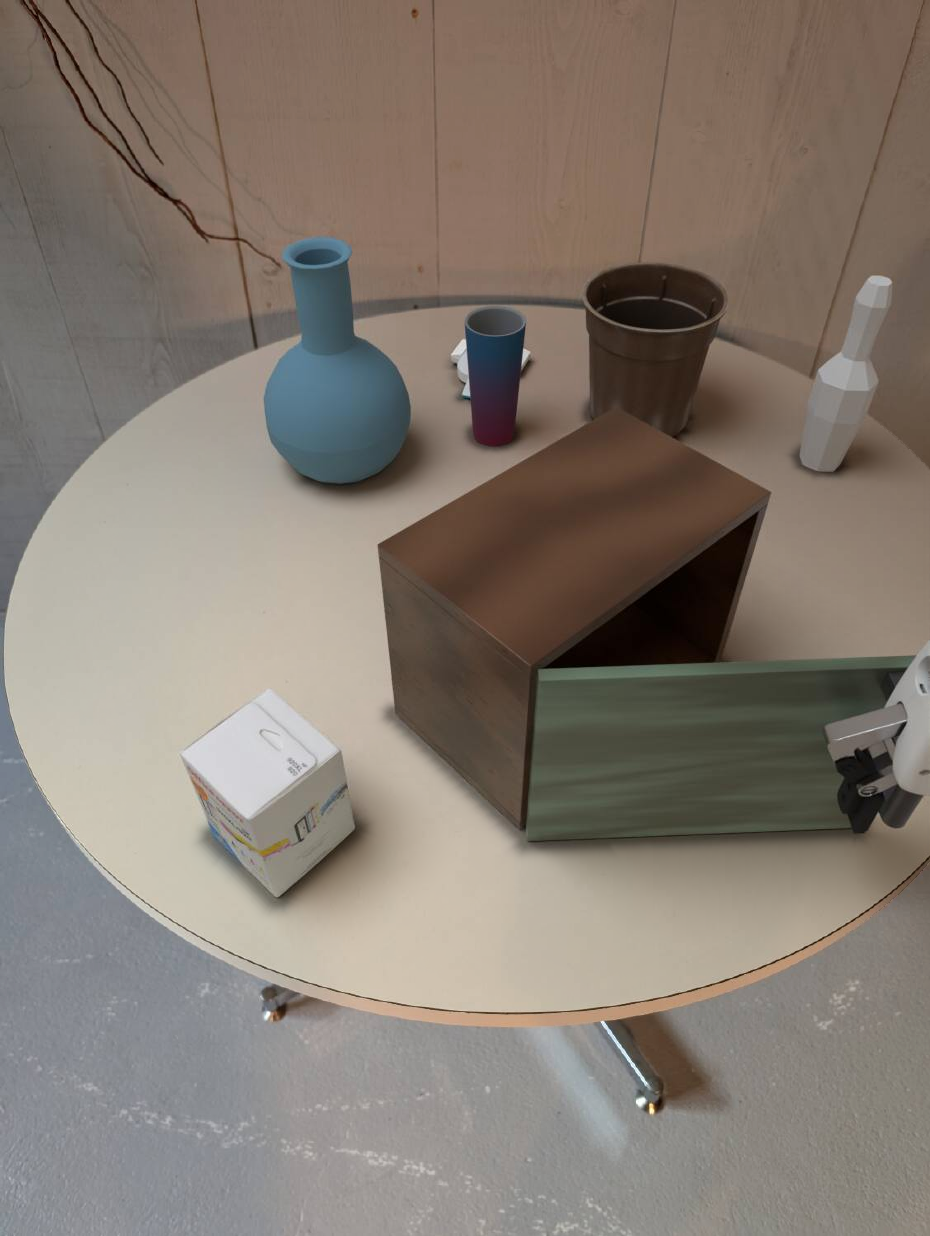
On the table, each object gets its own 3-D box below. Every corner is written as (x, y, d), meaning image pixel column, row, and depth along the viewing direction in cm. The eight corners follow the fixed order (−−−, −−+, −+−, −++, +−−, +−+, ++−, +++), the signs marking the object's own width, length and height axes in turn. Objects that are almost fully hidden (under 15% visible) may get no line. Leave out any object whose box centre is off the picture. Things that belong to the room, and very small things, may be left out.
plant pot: (553, 437, 110) (562, 313, 99) (592, 370, 120) (605, 251, 109) (685, 467, 106) (711, 342, 94) (715, 395, 116) (741, 274, 104)
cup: (461, 447, 109) (459, 333, 98) (470, 415, 114) (469, 303, 103) (517, 453, 108) (522, 338, 97) (524, 420, 113) (529, 307, 102)
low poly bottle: (844, 481, 104) (911, 300, 88) (788, 469, 105) (843, 289, 90) (850, 450, 108) (915, 272, 92) (795, 439, 110) (850, 261, 94)
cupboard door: (884, 908, 68) (995, 753, 54) (534, 922, 68) (550, 770, 53) (849, 817, 74) (942, 653, 59) (525, 830, 73) (537, 668, 58)
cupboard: (720, 663, 85) (772, 491, 70) (519, 830, 73) (530, 666, 58) (594, 575, 94) (616, 406, 79) (394, 713, 81) (376, 544, 67)
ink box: (209, 834, 73) (173, 750, 65) (290, 769, 77) (267, 682, 69) (276, 902, 69) (248, 822, 61) (358, 829, 73) (343, 745, 65)
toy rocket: (473, 333, 127) (473, 318, 126) (540, 345, 125) (540, 330, 123) (431, 392, 117) (430, 377, 116) (502, 407, 115) (502, 391, 113)
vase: (414, 416, 114) (402, 214, 95) (413, 500, 102) (399, 289, 84) (282, 419, 113) (244, 218, 95) (265, 504, 102) (220, 293, 84)
